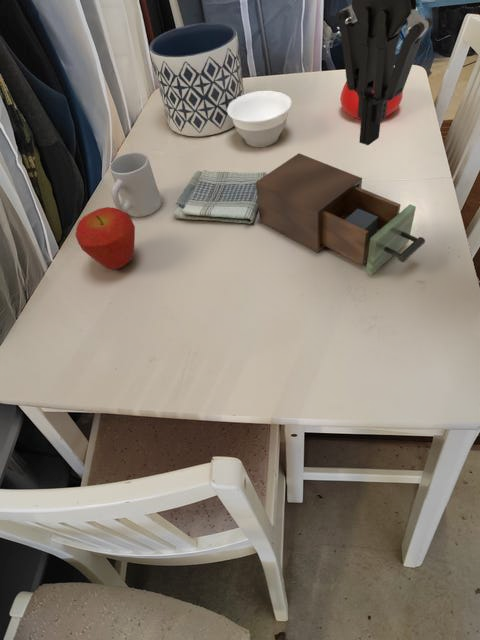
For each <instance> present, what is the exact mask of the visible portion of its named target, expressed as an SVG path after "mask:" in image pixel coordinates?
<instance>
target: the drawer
mask: <svg viewBox="0 0 480 640" xmlns="http://www.w3.org/2000/svg"><path fill="white" fill-rule="evenodd" d="M416 208H417V206H415V205H413V204H411V203H410V204H408V205H407V206H406V207H405V208H404V209H402V210H401V203H398V202H396V201H393V200H391V199H390V198H389V199H388V198H387V197H384V196H382V195H379V194H377V193H374V192H371V191H369V190H366V189H364V188H363V187H361V188H359V187H357V186H356V187H354V188H353V189H352V190H350V191H349V192H348V193H347V194H345V195H344V196H343V197H341V198H340V199H339V200H337V201H336V202H335V203H334V204H332V205H331V206H330V207H328V208H327V209H326V210H324V211H323V212H322V213H321V239H320V244H322V245H324V246H325V248H327V249H330V250H332V251H334V252H336V253H338V254H339V255H342V256H343V257H345V258H347V259H349V260H351V261H353V262H355V263H357V264H359V265H360V266H364V265H365V264H366V271H365V272H366V273H367V274H369V275H371V276H372V275H373V274H374V273H376V272H377V271H378V270H379V269H380V268H381V267H382V266H383V265H384V264H385V263H387V262H388V261H389V260H390V259H391V258H393V257H395V258H397V260H398V261H399V262H400V263H405V262H406V261H407V260H408V259H409V258H410V257H411V256H412V255H413V254H415V253H416V252H417V251H418V250H419V249H420V248H421V247H423V245H424V244H425V243H426V240H425V238H424V237H422V236H418V237H417V236H414V235H411V232H412V228H413V227H412V226H413V223H414V219H415V213H416ZM357 209H360V210H363V211H365V212H367V213H370V214H372V215H375V216H377V217H378V223H377V231H376V234H375V235H373V236H372V237H371V238H370V242H369V243H368V244H367V242H368V234H369V231H367V230H365V229H363V228H361V227H358V226H356V225H354V224H352V223H350V222H348V221H346V220H345V219H346V218H347V217H349V216H350V215H351V214H352V213H353V212H354V211H356V210H357ZM409 241H411V242H412V243H410V244H409V245H408V246H407V247H406V248H405V249H404V250H403V251H401V252H399V251H400V250H401V249H402V248H403V247H405V246H406V244H407V243H409Z"/></svg>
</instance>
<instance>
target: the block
mask: <svg viewBox="0 0 480 640" xmlns="http://www.w3.org/2000/svg"><path fill="white" fill-rule="evenodd" d="M345 220H346V221H348V222H350V223H352V224H354V225H356V226H358V227H361V228H363V229H365V230H367V231H369V234H368V242H367V244H368V243H369V242H370V238H371V237H372V236H373V235H375V234H376V231H377V223H378V217H377V216H375V215H372V214H370V213H367V212H365V211H363V210H360V209H357V210H356V211H354V212H353V213H352V214H351V215H350V216H349V217H347V218H346V219H345Z"/></svg>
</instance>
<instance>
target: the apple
mask: <svg viewBox="0 0 480 640" xmlns="http://www.w3.org/2000/svg"><path fill="white" fill-rule="evenodd" d="M130 216H131V215H129V214H128V213H127V212H124V211H121V210H119V209H117V208H116V207H111V206H110V207H109V206H106V207H102V208H97V209H96V210H95V209H94V210H93V211H91V212H89V213H88V214H86V215H84V216H83V217H81V219H80V220H79V221H78V223H77V226H76V229H75V235H74V236H75V239H76V240H77V241H76V242H77V243H78V245H79V247H80V249H81V250H82V251H83V252H84V253H85V254H86V255H87V256H89V257H90V258H92V260H94V261H96V262H97V263H99V264H100V266H103V267H104V268H106V269H108V270H115V269H116V270H117V269H121V268H123V267H125V265H127V264H128V263H129V262H130V261H131V260H132V258H133V256H134V250H135V240H136V239H135V238H136V236H135V235H136V229H135V228H136V226H135V224H134V222H133V220H132V218H131V217H130Z"/></svg>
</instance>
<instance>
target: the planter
mask: <svg viewBox="0 0 480 640" xmlns="http://www.w3.org/2000/svg"><path fill="white" fill-rule="evenodd" d="M239 46H240V45H239V39H238V32H237V30H236V28H235V27H234V26H232V25H230V24H227V23H222V22H199V23H193V24H188V25H183V26H180V27H179V26H178V27H175V28H173V29H170V30H168V31H165V32H163V33H162V34H160V35H158V36H157V37H155V38H154V39H153V40H152V41H151V42H150V44H149V47H148V49H149V53H150V59H151V63H152V67H153V70H154V75H155V78H156V81H157V85H158V89H159V93H160V97H161V102H162V105H163V108H164V112H165V116H166V120H167V124H168V126H169V128H170V129H171V130H172V131H174V132H175V133H177V134H179V135H182V136H186V137H208V136H214V135H217V134H220V133H223V132H225V131H228V130H231V129H232V128H234V127H235V125H234V123H233V118H231V117H230V116H229V115H228V113H227V108H228V106H229V104H230V103H231V102H232V101H233V100H235V99H236V98H238V97H240V96H242V95H245V89H244V80H243V72H242V63H241V56H240V55H241V54H240V47H239Z"/></svg>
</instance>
